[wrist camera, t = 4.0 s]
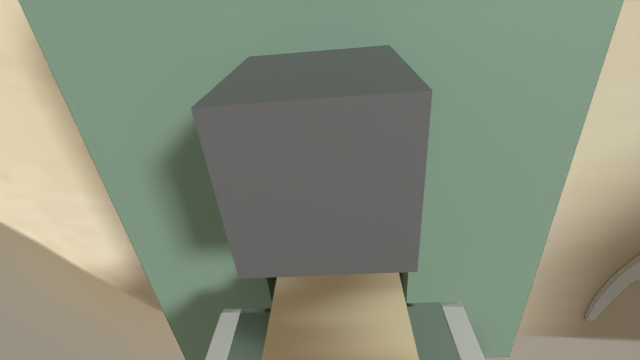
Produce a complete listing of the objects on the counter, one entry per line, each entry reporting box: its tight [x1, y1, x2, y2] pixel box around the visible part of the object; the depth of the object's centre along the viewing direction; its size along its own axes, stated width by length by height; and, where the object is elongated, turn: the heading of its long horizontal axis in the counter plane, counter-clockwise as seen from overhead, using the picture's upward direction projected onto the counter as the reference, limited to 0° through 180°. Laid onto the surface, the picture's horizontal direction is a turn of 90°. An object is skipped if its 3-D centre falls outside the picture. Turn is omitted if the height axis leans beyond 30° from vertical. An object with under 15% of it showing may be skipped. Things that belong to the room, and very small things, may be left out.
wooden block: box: [262, 273, 419, 360], centre depth 13 cm, size 3×3×13 cm
